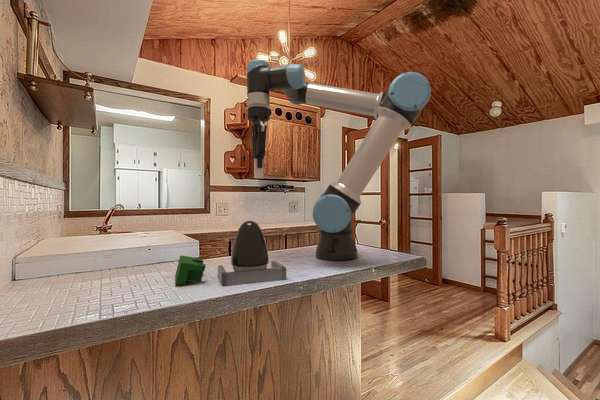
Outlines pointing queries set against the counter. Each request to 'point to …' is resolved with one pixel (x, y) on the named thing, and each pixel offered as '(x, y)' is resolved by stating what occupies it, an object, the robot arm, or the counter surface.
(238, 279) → the bracket
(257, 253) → the dark rounded piece
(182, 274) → the green stepped block
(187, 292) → the counter surface
